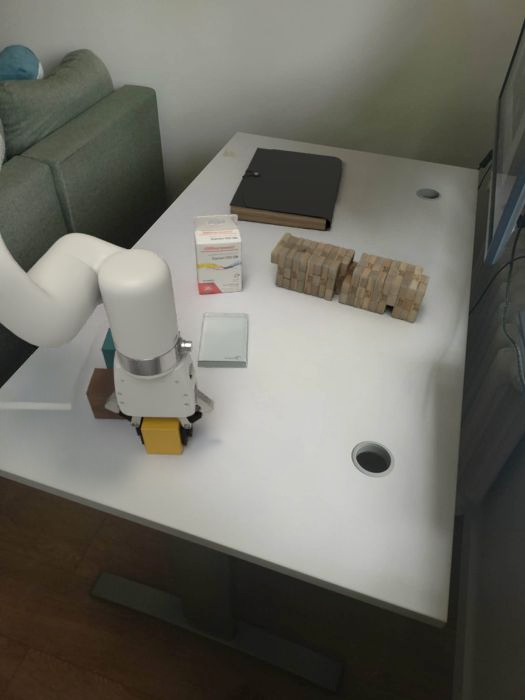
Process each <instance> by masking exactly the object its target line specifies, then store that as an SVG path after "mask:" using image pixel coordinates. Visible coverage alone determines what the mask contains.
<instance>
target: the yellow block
mask: <svg viewBox="0 0 525 700" xmlns="http://www.w3.org/2000/svg"><path fill="white" fill-rule="evenodd" d="M180 424H181V423H180V421H179V420H178V418H177V417H144V418H143V422H142V426H141V432H142V435H143V439H144V443H145V444H144V447H145V451H146V454H147V455H179V456H181V455H182V454H183V448H184V445H183V444H182V441H181V435H180Z"/></svg>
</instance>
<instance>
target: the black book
mask: <svg viewBox="0 0 525 700" xmlns="http://www.w3.org/2000/svg"><path fill="white" fill-rule="evenodd" d="M342 166H343V160H342V159H341V158H340V157H338V156H333V155H323V154H316V153H309V152H301V151H292V150H284V149H277V148H264V147H256V150H255V151H254V154H253V156H252V158H251V160H250V162H249V164H248V166H247V168H246V169H245V171H244V173H243V175H242V178H241V181H240V182H239V185H238V186H237V188H236V190H235V192H234V194H233V197H232V198H231V200H230V202H229V208H230V210H229V212H230V214H229V215H233V214H236V215H237V216H238V221H245V222H253V223H260V224H268V225H276V226H283V227H289V228H290V227H291V228H299V229H306V230H313V231H320V232H324V231H327V230H329V229H330V228H331V227H332V221H333V216H334V211H335V205H336V199H337V194H338V189H339V183H340V178H341V172H342Z"/></svg>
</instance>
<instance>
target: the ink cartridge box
mask: <svg viewBox="0 0 525 700" xmlns="http://www.w3.org/2000/svg"><path fill="white" fill-rule="evenodd" d="M215 220H216V221H218V222H219V221H220V222H221V221H222V222H221V223H220V222H219V223H210V222H214V221H215ZM193 222H194V223H193V224H194V231H193V236H194V237H193V238H194V249H195V250H194V252H195V265H196V281H197V287H198V294H199V295H210V294H211V295H212V294H224V293H239V292H242V290H243V289H242V288H243V284H242V283H243V280H242V279H243V278H242V277H243V242H242V237H241V234H240V229H239V228H238V225H239V224H238V222H239V220H238V216H237V215H236V214H233V215H230V214H216V215H215V214H214V215H213V214H211V215H196V216H194V219H193Z"/></svg>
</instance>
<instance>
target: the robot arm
mask: <svg viewBox="0 0 525 700" xmlns="http://www.w3.org/2000/svg"><path fill="white" fill-rule="evenodd" d="M5 153H6V144H5V141H4V138H3V136H2V135H1V134H0V172H1V171H2V166H3V162H4V158H5ZM175 300H176V299H175V294H174V286H173V278H172V272H171V268H170V265H169V264H168V262H167V261H166V260H165V258H164V257H163V256H161V255H160V254H159V253H158V252H157V253H156V252H155V251H153V250H149V249H144V248H130V249H129V248H128V249H127V248H125V247H121V246H119V245H116V244H114V243H111V242H108V241H107V240H103V239H101V238H98V237H96V236H94V235H90V234H86V233H81V232H72V233H71V232H70V233H68V234H65V235H63V236H61V237H60V238H58V239H57V240H56V241H55V242H54V243H53V244H52V245H51V246H50V248H48V250H47V251H46V252H45V253H44V254H43V255H42V256H41V257H40V258H39V259H38V260H37V261H36V262H35V263H34V264H33V266H32V267H31V268H29V270H28V271H27V272H26V271H25V270H24V269H23V268H22V267H21V266H20V264H19V263H18V262H17V261H16V260H15V258H14V256H13V255H12V254H11V252H10V250H9V249H8V246H7V245H6V243H5V241H4V239H3V236H2V234H1V232H0V324H1V325H2V326H3V327H5V328H6V329H7V330H9V332H11V333H13V335H15V336H16V337H18V338H20V339H21V340H23V341H25V342H27V343H28V344H30V345H33V346H36V347H38V348H39V347H40V348H45V349H56V348H60V347H61V348H62V347H63V346H66V345H68V343H71V341H73V339H75V338H76V337H77V336H78V334H79V333H80V332H81V330H83V327H85V325H86V323H87V322H88V320H89V319H90V317H91V316H92V315H93V313H94V312H95V310H96V309H97V307H98V306H100V305H102V304H103V307H104V311H105V314H106V318H107V322H108V325H109V328H110V330H111V333H112V337H113V341H114V345H115V349H116V351H115V357H114V383H115V391H114V392H113V393H112V394H111V395H110V396H109V397H108V398H107V400H106V404H105V408H106V409H109V410H111V411H113V412H115V413H119V416H121V417H123V418H125V419H124V420H127V421H128V422H130V425H131V427H133V428H135V431H136V435H137V436H138V437H140V440H141V444H142V445H145V443H144V439H143V435H142V432H141V426H142V422H143V418H144V417H177V418H178V420H179V421H180V423H181V424H180V435H181V441H182V444H183V446H188V440H189V438H192V437H193V433H194V431H193V430H194V426H193V424H194V423H196V422H197V421H199V420H200V419H202V417H203V416H206V415H208V414H210V413H213V412H214V410H215V401H214V400H213V399H211V398H210V397H209V396H208V395H206V394H205V393H204V392H202V391H201V390H200V389H199V383H198V378H197V373H196V369H195V365H194V361H193V359H192V355H191V354H190V353H192V352H193V341H192V340H187V339H184V338H183V337H182V335H181V331H180V330H179V322H178V317H177V316H178V315H177V310H176V309H177V308H176V301H175Z"/></svg>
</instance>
